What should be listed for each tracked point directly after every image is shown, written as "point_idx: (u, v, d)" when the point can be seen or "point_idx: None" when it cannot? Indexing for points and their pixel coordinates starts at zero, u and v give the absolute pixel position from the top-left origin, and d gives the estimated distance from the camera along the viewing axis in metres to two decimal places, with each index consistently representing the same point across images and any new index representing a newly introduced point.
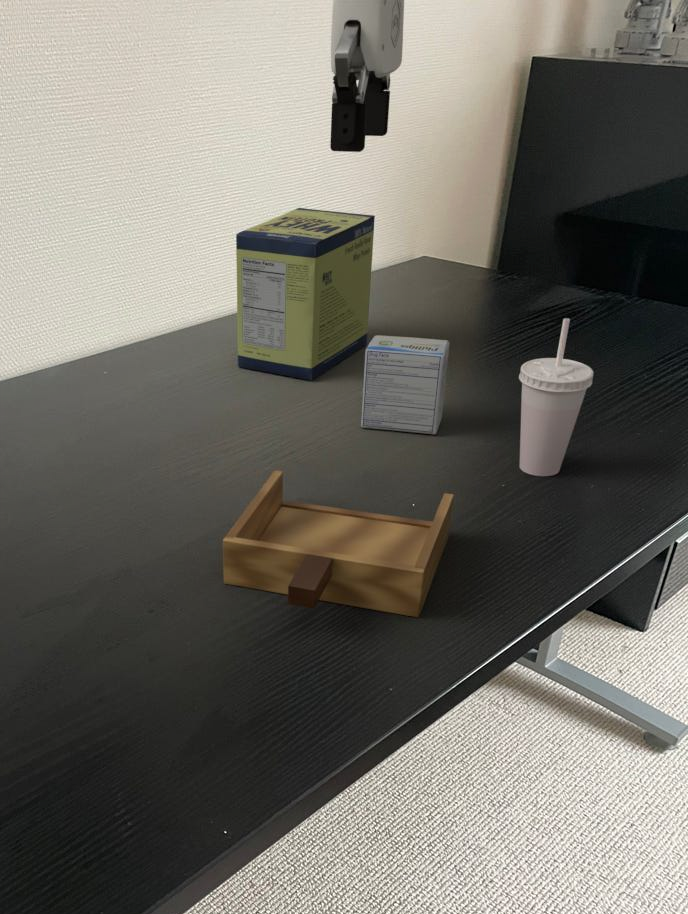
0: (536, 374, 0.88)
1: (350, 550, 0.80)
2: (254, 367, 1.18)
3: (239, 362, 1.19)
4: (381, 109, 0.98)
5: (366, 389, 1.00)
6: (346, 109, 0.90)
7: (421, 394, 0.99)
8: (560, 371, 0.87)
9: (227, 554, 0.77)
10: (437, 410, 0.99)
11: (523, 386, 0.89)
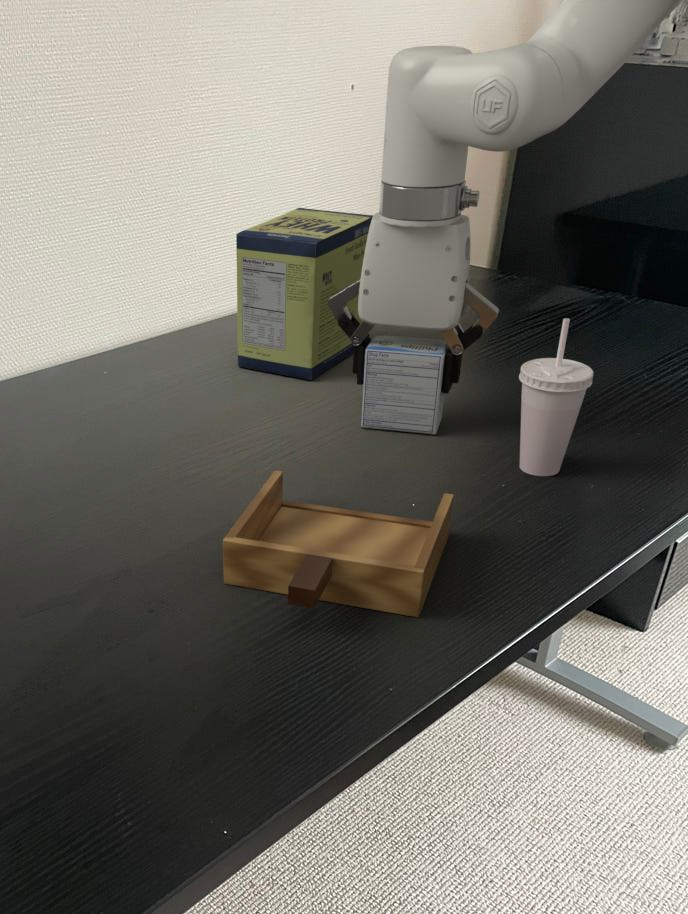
0: (536, 374, 0.88)
1: (350, 550, 0.80)
2: (254, 367, 1.18)
3: (239, 362, 1.19)
4: None
5: (366, 389, 1.00)
6: (461, 355, 0.97)
7: (421, 394, 0.99)
8: (560, 371, 0.87)
9: (227, 554, 0.77)
10: (437, 410, 0.99)
11: (523, 386, 0.89)
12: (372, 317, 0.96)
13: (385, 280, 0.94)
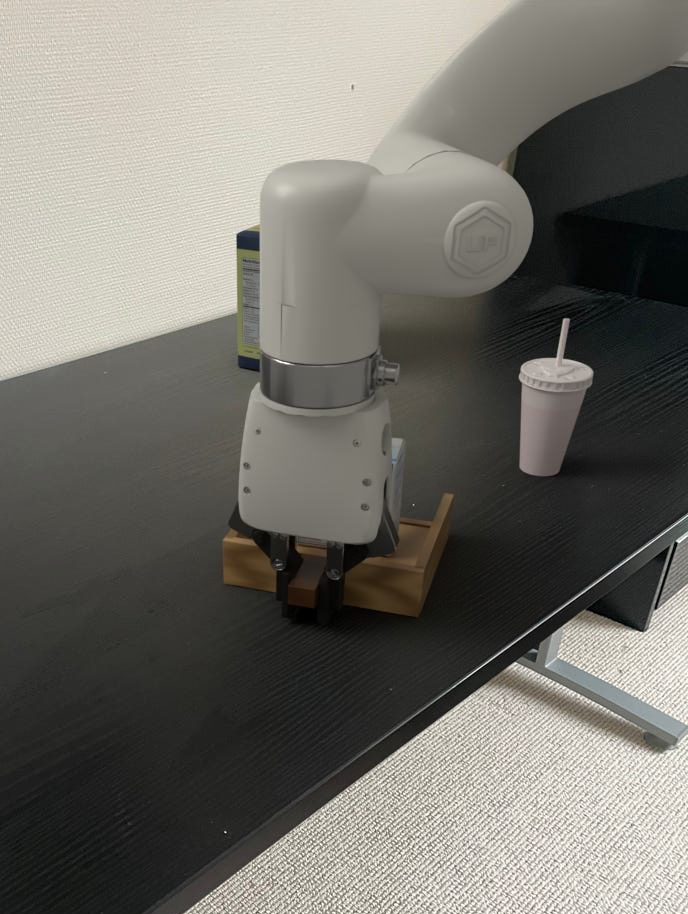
0: (536, 374, 0.88)
1: None
2: (254, 367, 1.18)
3: (239, 362, 1.19)
4: None
5: None
6: (342, 576, 0.71)
7: None
8: (560, 371, 0.87)
9: (227, 554, 0.77)
10: None
11: (523, 386, 0.89)
12: (258, 522, 0.69)
13: (272, 478, 0.66)
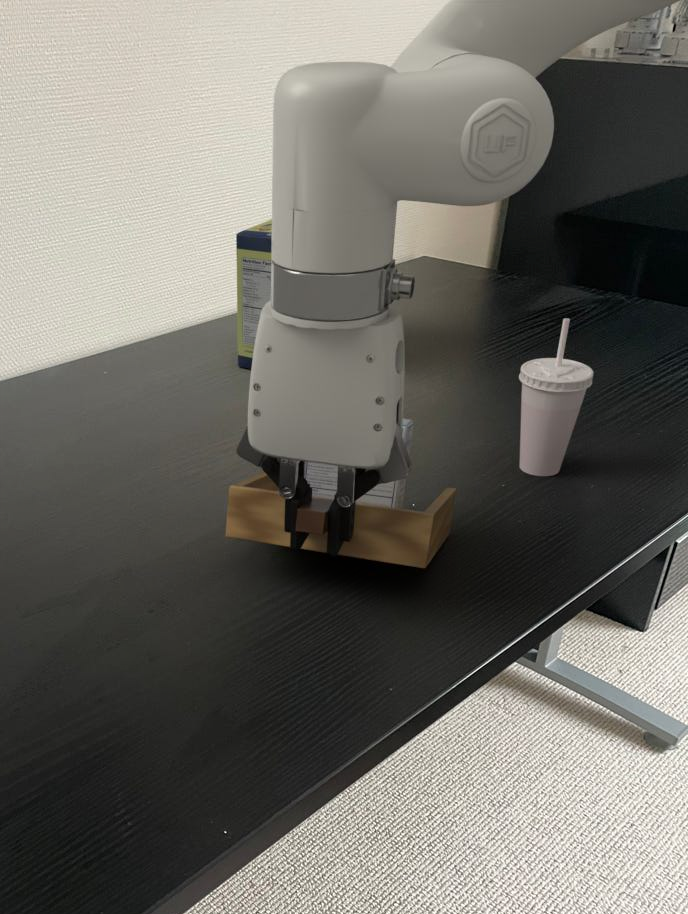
0: (536, 374, 0.88)
1: None
2: None
3: (239, 362, 1.19)
4: None
5: (308, 468, 0.79)
6: (353, 505, 0.70)
7: None
8: (560, 371, 0.87)
9: (232, 502, 0.75)
10: (396, 499, 0.78)
11: (523, 386, 0.89)
12: (267, 447, 0.67)
13: (282, 399, 0.65)
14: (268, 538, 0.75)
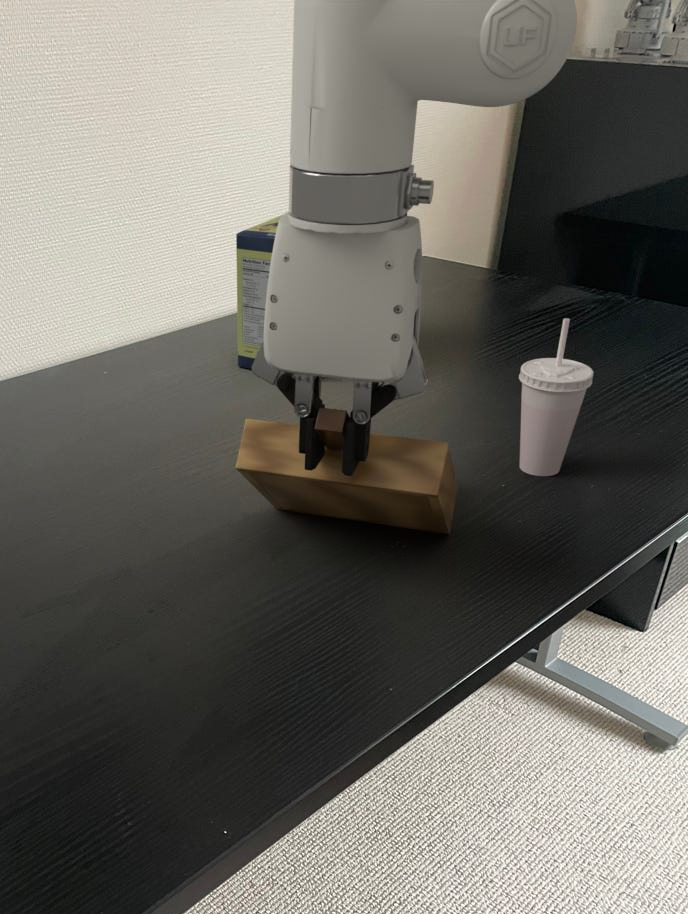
0: (536, 374, 0.88)
1: None
2: None
3: (239, 362, 1.19)
4: None
5: None
6: (368, 423, 0.70)
7: None
8: (560, 371, 0.87)
9: (247, 433, 0.76)
10: None
11: (523, 386, 0.89)
12: (283, 362, 0.67)
13: (299, 310, 0.64)
14: (279, 468, 0.75)
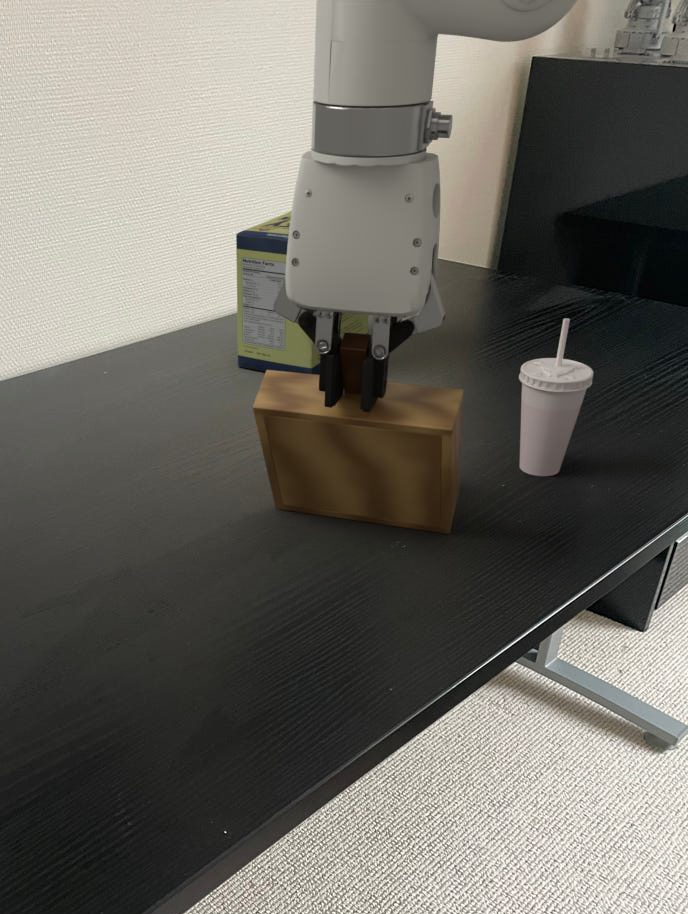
0: (536, 374, 0.88)
1: None
2: (254, 367, 1.18)
3: (239, 362, 1.19)
4: None
5: None
6: (386, 359, 0.72)
7: None
8: (560, 371, 0.87)
9: (266, 381, 0.78)
10: None
11: (523, 386, 0.89)
12: (305, 298, 0.69)
13: (321, 245, 0.66)
14: (296, 408, 0.76)
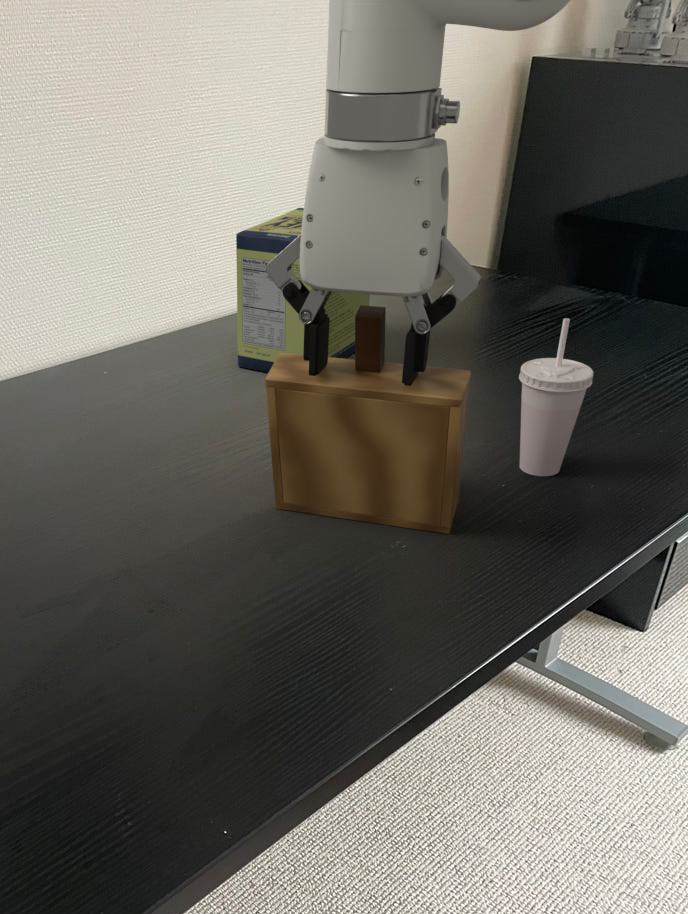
0: (536, 374, 0.88)
1: None
2: (254, 367, 1.18)
3: (239, 362, 1.19)
4: (327, 336, 0.77)
5: None
6: (428, 334, 0.73)
7: None
8: (560, 371, 0.87)
9: (279, 360, 0.80)
10: None
11: (523, 386, 0.89)
12: (318, 279, 0.72)
13: (334, 228, 0.69)
14: (308, 380, 0.78)
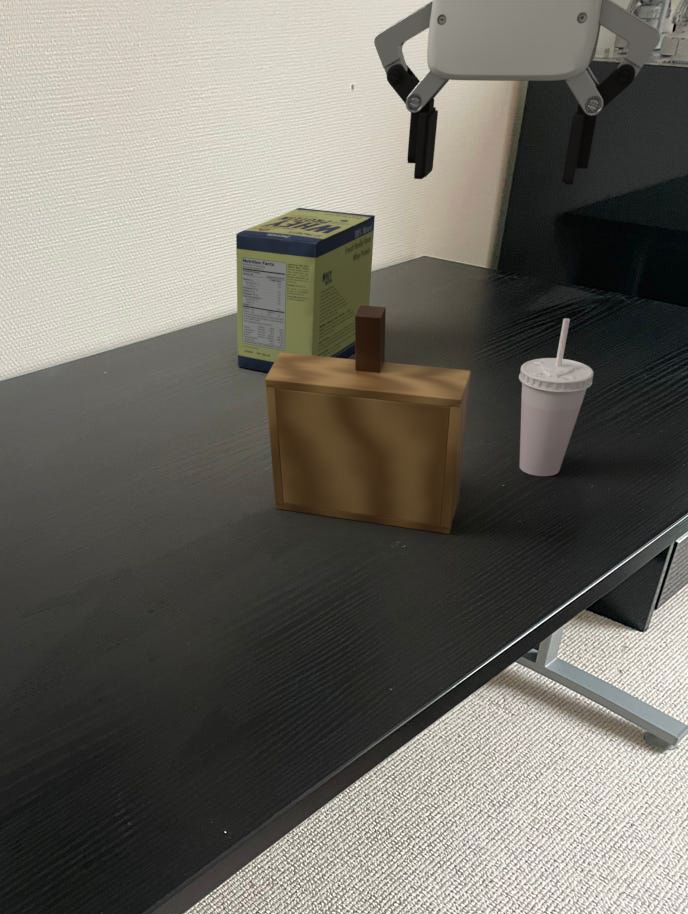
0: (536, 374, 0.88)
1: None
2: (254, 367, 1.18)
3: (239, 362, 1.19)
4: (434, 134, 0.67)
5: None
6: (596, 119, 0.62)
7: None
8: (560, 371, 0.87)
9: (279, 360, 0.80)
10: None
11: (523, 386, 0.89)
12: (450, 64, 0.62)
13: None
14: (308, 380, 0.78)
